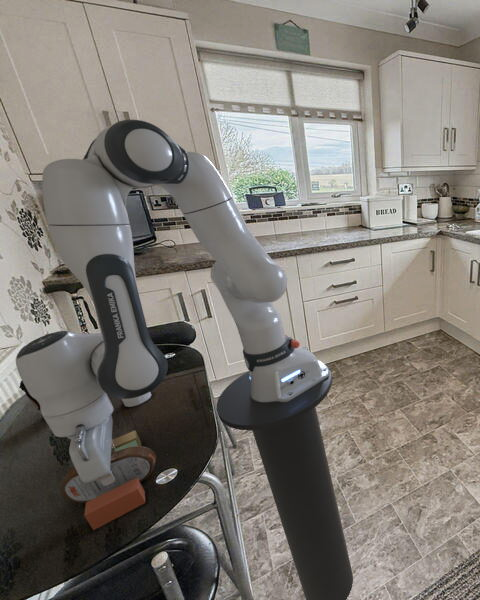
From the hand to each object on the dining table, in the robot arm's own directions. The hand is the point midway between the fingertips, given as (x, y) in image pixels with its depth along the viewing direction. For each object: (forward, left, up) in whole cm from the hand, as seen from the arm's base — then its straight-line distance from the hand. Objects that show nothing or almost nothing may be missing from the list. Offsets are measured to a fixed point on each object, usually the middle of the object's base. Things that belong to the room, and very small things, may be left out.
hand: (110, 467), depth 68 cm
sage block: (0, -7, -6) cm, 9 cm away
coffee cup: (+15, -48, -6) cm, 51 cm away
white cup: (-4, -37, -6) cm, 38 cm away
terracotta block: (0, +7, -6) cm, 9 cm away
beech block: (0, -11, -6) cm, 13 cm away
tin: (0, 0, -6) cm, 6 cm away
